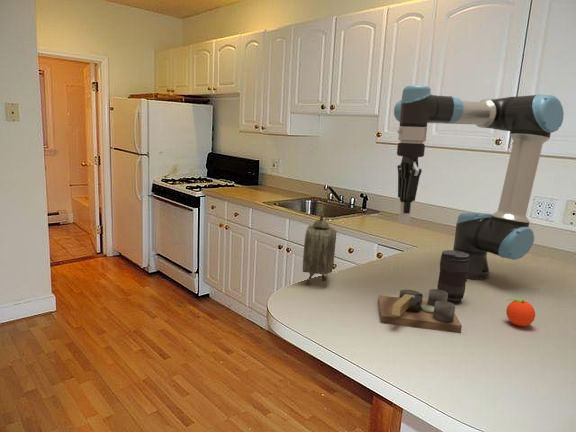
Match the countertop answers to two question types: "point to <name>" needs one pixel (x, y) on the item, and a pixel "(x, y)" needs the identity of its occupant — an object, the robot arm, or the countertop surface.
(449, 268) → the camera lens
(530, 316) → the tomato
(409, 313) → the base
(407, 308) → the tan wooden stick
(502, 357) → the countertop surface
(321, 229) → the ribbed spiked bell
